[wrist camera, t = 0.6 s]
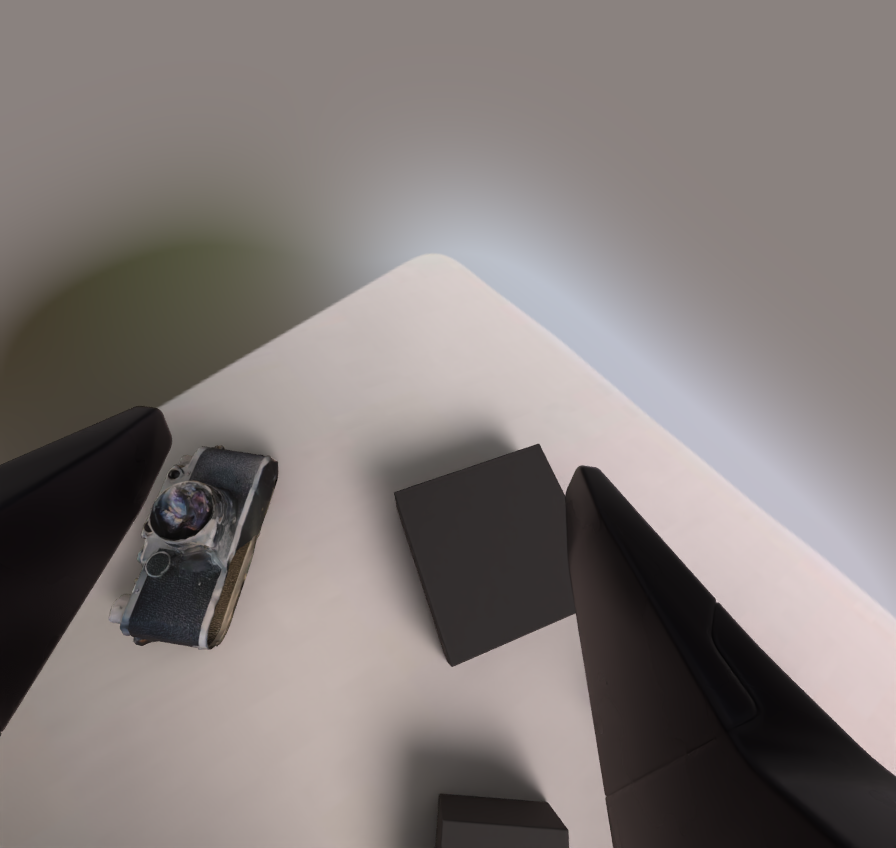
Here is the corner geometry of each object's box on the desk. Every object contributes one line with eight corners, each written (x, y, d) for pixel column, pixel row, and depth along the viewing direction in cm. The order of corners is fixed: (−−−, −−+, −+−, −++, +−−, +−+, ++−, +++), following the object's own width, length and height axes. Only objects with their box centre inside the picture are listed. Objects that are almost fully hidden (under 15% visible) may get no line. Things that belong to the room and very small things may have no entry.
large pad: (592, 599, 23) (615, 596, 21) (447, 662, 22) (451, 667, 19) (527, 462, 27) (539, 442, 24) (396, 507, 25) (393, 492, 22)
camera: (119, 638, 21) (54, 640, 17) (203, 449, 26) (166, 417, 22) (219, 656, 21) (175, 661, 17) (286, 463, 26) (263, 433, 22)
